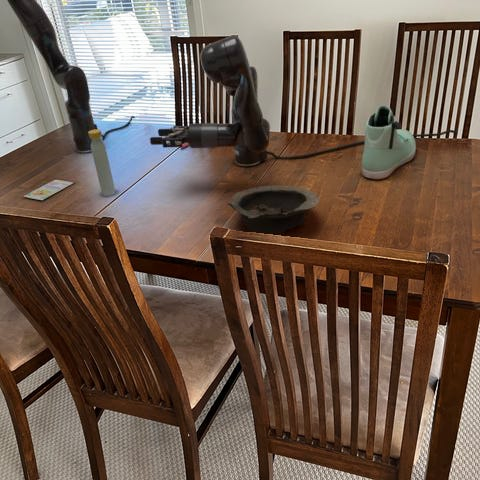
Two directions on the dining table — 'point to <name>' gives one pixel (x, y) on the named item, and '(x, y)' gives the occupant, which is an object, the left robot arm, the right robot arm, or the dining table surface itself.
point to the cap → (95, 134)
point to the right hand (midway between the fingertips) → (154, 136)
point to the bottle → (102, 167)
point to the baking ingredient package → (48, 189)
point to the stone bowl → (273, 207)
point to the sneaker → (385, 145)
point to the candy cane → (184, 145)
